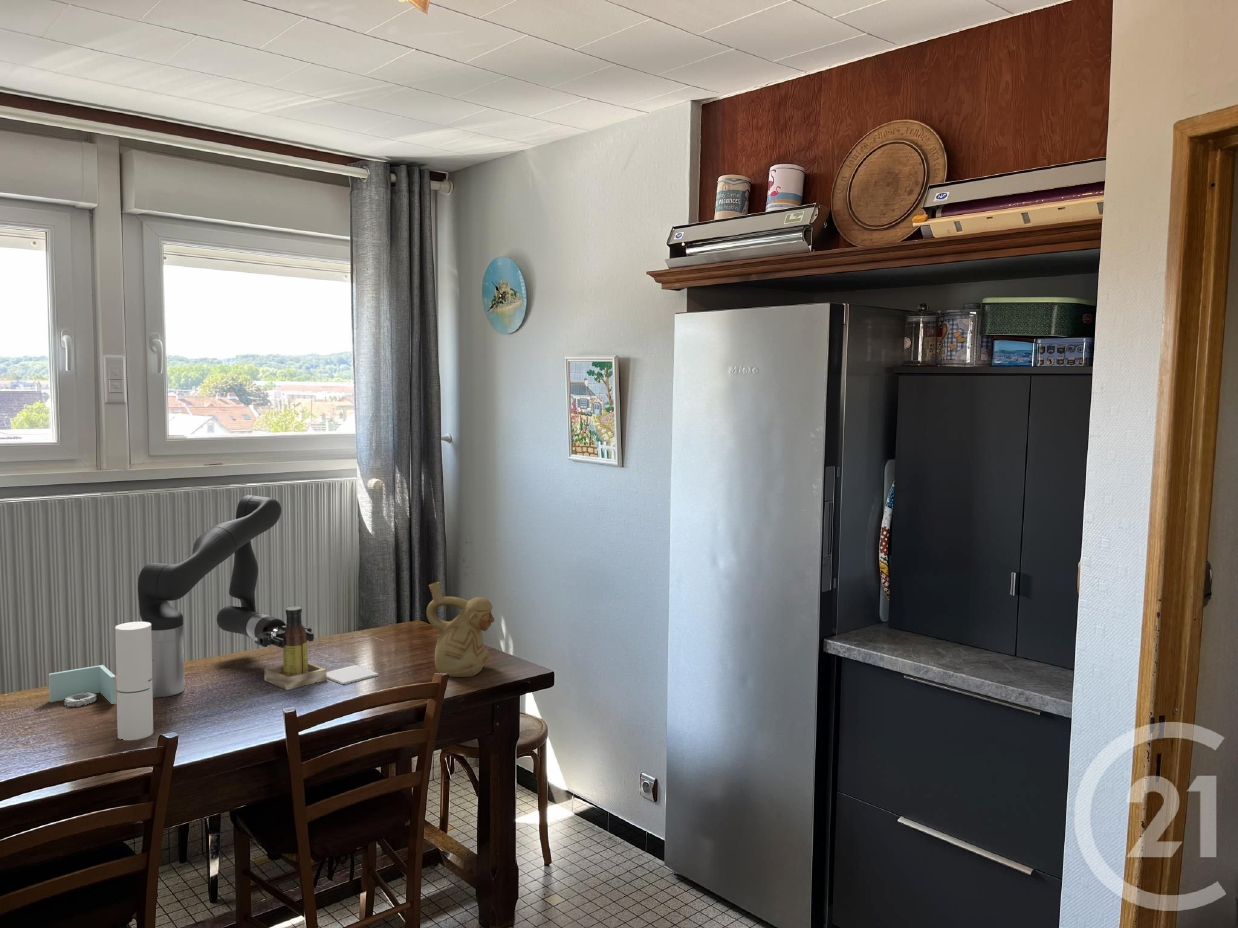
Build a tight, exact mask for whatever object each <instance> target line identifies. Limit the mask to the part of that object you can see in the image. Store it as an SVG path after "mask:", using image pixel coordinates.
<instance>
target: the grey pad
mask: <svg viewBox="0 0 1238 928" xmlns="http://www.w3.org/2000/svg"><path fill="white" fill-rule="evenodd" d="M378 676H379V673H378V672H375V671H372V670H370V669H367V668H364V667H361V666H358V665H356V664H354V665H350V666H347V667H346V666H345V667H342V668H338V669H334V670H329V671H326V680H329V679H330V681H332V682H335V683H337V682H338V683H337V684H340V685H342V684H345V685H349V684H352V683H356V682H359V681H363V680H362V679H364V680H367V679H370V678H374V677H378ZM355 681H356V682H355ZM351 682H352V683H351Z"/></svg>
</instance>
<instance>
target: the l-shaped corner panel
mask: <svg viewBox="0 0 1238 928" xmlns="http://www.w3.org/2000/svg"><path fill="white" fill-rule="evenodd" d="M98 692H100V693H101V694H103V696H104V697H105V698H106V699H107V700H108V701H109V702H110V703H111V704H114V705H117V687H116V674H114V673H113V672H112V671H110V670H109V669H108V668H107V667H106V666H105V665H104V664H101V665H94V666H88V667H82V668H75V669H69V670H64V671H57V672H51V673H48V695H49V702H50V703H53V702H57V701H59V702H60V701H64V704H63V705H64V706H66V705H67V706H66V707H75V706H76V707H78V706H77V705H79V707H80V705H83V706H88V705H89V703H90V704H92V703H94V702H96V700H97V699H98V698H97V695H98V694H100V693H98ZM94 693H98V694H94ZM101 694H100V695H101ZM103 696H102V697H103ZM104 697H103V698H104ZM105 698H104V699H105ZM64 699H65V700H64ZM79 699H80V700H79ZM85 699H86V700H85ZM106 699H105V700H106ZM107 700H106V701H107ZM108 701H107V702H108ZM109 702H108V703H109ZM110 703H109V704H110ZM87 704H88V705H87ZM111 704H110V705H111ZM72 705H73V706H72ZM79 707H78V708H79Z"/></svg>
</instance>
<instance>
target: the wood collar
mask: <svg viewBox="0 0 1238 928" xmlns="http://www.w3.org/2000/svg"><path fill="white" fill-rule="evenodd" d="M263 670H264V681H266V682H268V683H271V684H272V685H274V686H276V687H279V688H281V689H284V690H287V691H288V690H293V689H297V688H301V687H304V685H305V686H308V685H309V686H310V685H312V684H316V683H315V682H317V683H319V682H320V683H321V682H324V681H327V678H326V672H327V668H325V667H322V666H319V665H316V664H314V663H312V662H309V661H308V672H307V673H303V674H299V675H295V676H291V677H288V676H285V675H284V666H283V664H281V665H277V666H273V667H269V668H265V669H263Z"/></svg>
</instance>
